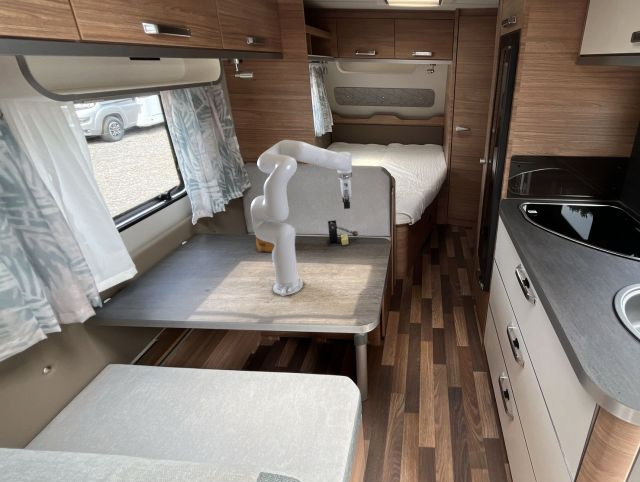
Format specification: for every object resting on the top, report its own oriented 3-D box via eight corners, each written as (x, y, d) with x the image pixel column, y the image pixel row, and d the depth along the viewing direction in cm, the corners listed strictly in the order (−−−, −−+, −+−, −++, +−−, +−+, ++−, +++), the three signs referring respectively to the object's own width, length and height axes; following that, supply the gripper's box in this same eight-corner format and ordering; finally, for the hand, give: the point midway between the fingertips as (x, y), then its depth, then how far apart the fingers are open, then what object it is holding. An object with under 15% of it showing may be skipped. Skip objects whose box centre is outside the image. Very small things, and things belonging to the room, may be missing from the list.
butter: (348, 245, 188) (348, 239, 187) (342, 246, 187) (341, 240, 186) (347, 240, 195) (347, 233, 193) (341, 240, 194) (340, 234, 192)
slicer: (337, 239, 194) (336, 219, 190) (338, 244, 189) (337, 224, 185) (328, 240, 193) (327, 220, 189) (329, 245, 188) (327, 225, 183)
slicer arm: (356, 235, 195) (358, 231, 195) (356, 238, 192) (359, 233, 192) (328, 225, 188) (331, 220, 188) (328, 228, 186) (331, 223, 185)
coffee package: (262, 243, 189) (256, 207, 181) (284, 243, 189) (279, 207, 181) (254, 252, 179) (248, 215, 171) (278, 252, 180) (272, 215, 172)
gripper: (353, 179, 171) (354, 210, 177) (350, 170, 186) (351, 199, 192) (338, 180, 169) (340, 211, 175) (336, 171, 184) (338, 200, 190)
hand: (346, 205), depth 183 cm, fingers open, 9 cm apart
